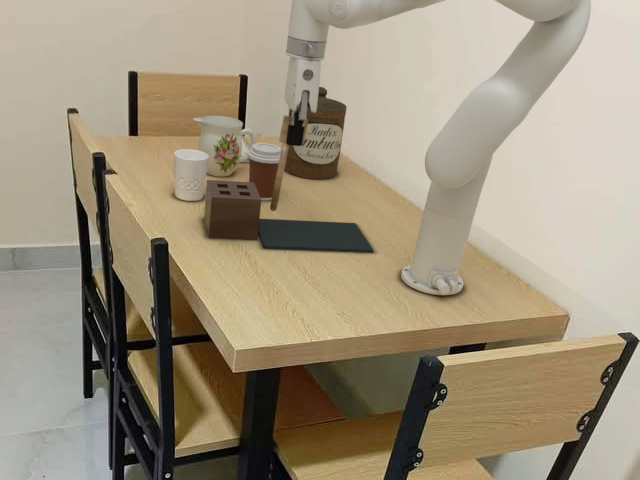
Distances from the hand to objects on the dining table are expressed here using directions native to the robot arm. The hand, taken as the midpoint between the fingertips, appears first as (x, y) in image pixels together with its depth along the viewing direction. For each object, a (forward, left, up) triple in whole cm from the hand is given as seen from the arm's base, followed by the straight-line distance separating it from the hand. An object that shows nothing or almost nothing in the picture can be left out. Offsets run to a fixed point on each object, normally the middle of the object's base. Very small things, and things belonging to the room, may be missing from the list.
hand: (293, 143), depth 151 cm
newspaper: (+60, +5, -20) cm, 63 cm away
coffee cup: (+24, +1, -20) cm, 31 cm away
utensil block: (+2, +11, -20) cm, 23 cm away
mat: (0, -7, -20) cm, 21 cm away
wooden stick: (0, +2, -15) cm, 15 cm away
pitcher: (+40, +9, -20) cm, 46 cm away
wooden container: (+46, -16, -20) cm, 53 cm away
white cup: (+21, +19, -20) cm, 35 cm away
